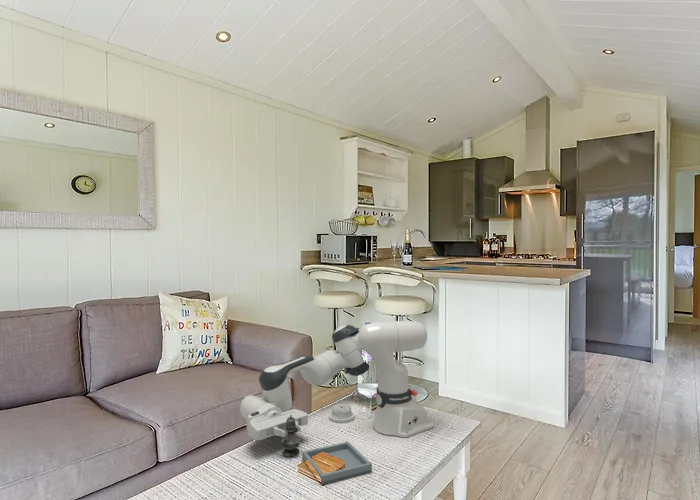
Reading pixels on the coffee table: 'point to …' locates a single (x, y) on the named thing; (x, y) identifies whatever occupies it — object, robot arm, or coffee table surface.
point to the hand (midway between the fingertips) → (292, 431)
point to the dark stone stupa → (290, 438)
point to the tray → (346, 452)
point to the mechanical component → (341, 414)
